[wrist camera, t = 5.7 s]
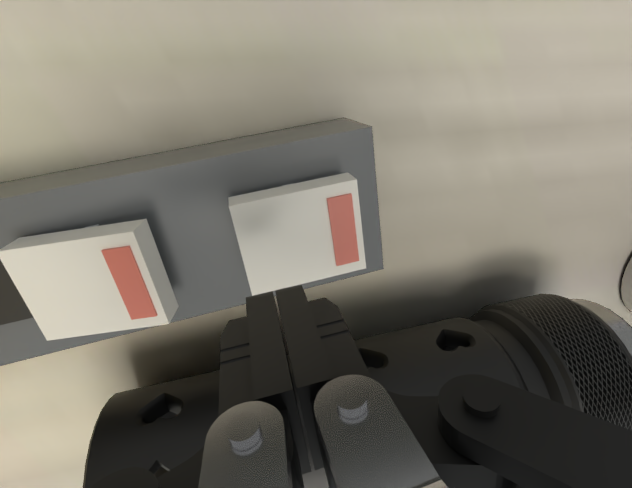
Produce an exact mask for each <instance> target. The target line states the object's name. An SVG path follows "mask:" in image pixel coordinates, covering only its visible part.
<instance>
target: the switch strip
mask: <svg viewBox="0 0 632 488" xmlns="http://www.w3.org/2000/svg"><path fill="white" fill-rule="evenodd" d="M347 172H348V173H349V174H351V175H352V176H353V177H355V178H356V179H357V185H358V194H359V204H360V213H361V223H362V232H363V242H364V251H365V261H366V268H365V269H361V270H357V271H353V272H349V273H345V274H341V275H337V276H333V277H329V278H325V279H321V280H317V281H312V282H308V283H304V284H301V285H302V287H303V289H306V288H310V287H314V286H318V285H322V284H326V283H330V282H334V281H338V280H342V279H346V278H350V277H354V276H358V275H362V274H365V273H369V272H373V271H377V270H381V269H384V268H383V256H382V244H381V232H380V220H379V208H378V196H377V184H376V171H375V159H374V147H373V135H372V127H371V126H368V125H365V124H362V123H359V122H356V121H353V120H350V119H347V118H341V119H335V120H330V121H325V122H320V123H314V124H309V125H304V126H298V127H293V128H288V129H283V130H277V131H272V132H267V133H261V134H256V135H251V136H246V137H240V138H235V139H230V140H225V141H219V142H214V143H209V144H203V145H198V146H193V147H188V148H182V149H177V150H172V151H166V152H161V153H156V154H151V155H145V156H140V157H135V158H129V159H124V160H119V161H114V162H108V163H103V164H98V165H92V166H87V167H82V168H77V169H71V170H66V171H61V172H56V173H50V174H45V175H40V176H34V177H29V178H24V179H19V180H13V181H8V182H3V183H0V249H1V248H3V247H5V246H6V245H8V244H10V243H11V242H13V241H15V240H16V239H18V238H20V237H27V236H34V235H40V234H47V233H54V232H61V231H67V230H74V229H81V228H87V227H94V226H101V225H107V224H114V223H121V222H127V221H134V220H141V219H147V222H148V224H149V227H150V230H151V232H152V235H153V238H154V241H155V243H156V246H157V249H158V252H159V254H160V257H161V260H162V262H163V265H164V268H165V271H166V273H167V276H168V279H169V281H170V284H171V287H172V290H173V292H174V295H175V298H176V300H177V303H178V306H179V307H178V309H177V310H176V312H175V314H174V316H173V318H172V320H171V322H170V323H172V322H176V321H180V320H184V319H188V318H192V317H196V316H200V315H203V314H207V313H211V312H215V311H219V310H223V309H227V308H231V307H235V306H239V305H243V304H246V297H249V296H252V293H251V289H250V285H249V282H248V278H247V274H246V270H245V266H244V263H243V259H242V255H241V251H240V247H239V244H238V240H237V236H236V232H235V228H234V225H233V221H232V217H231V213H230V209H229V200H228V197H232V196H237V195H242V194H246V193H251V192H256V191H261V190H266V189H270V188H275V187H280V186H285V185H290V184H294V183H299V182H304V181H309V180H314V179H318V178H323V177H328V176H333V175H338V174H342V173H347ZM273 295H274V297H275V296H276V293H275V291H273ZM159 326H160V325H159ZM152 327H156V326H152ZM152 327H144V328H137V329H129V330H122V331H115V332H107V333H100V334H93V335H85V336H78V337H71V338H63V339H56V340H49V341H47V340H46V338H45V336H44V335H43V333H42V331H41V329H40V328H39V326H38V324H37V322H36V321H35V319H34V317H33V315H32V314H31V312H30V310H29V308H28V307H27V305H26V303H25V302H24V300H23V298H22V296H21V295H20V293H19V291H18V289H17V288H16V286H15V284H14V282H13V281H12V279H11V277H10V275H9V274H8V272H7V270H6V269H5V267H4V265H3V263H2V262H1V260H0V366H2V365H6V364H10V363H14V362H18V361H22V360H26V359H30V358H34V357H37V356H41V355H45V354H49V353H53V352H57V351H61V350H65V349H69V348H73V347H77V346H81V345H85V344H89V343H93V342H97V341H101V340H105V339H109V338H113V337H117V336H120V335H124V334H128V333H132V332H136V331H140V330H144V329H148V328H152Z"/></svg>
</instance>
